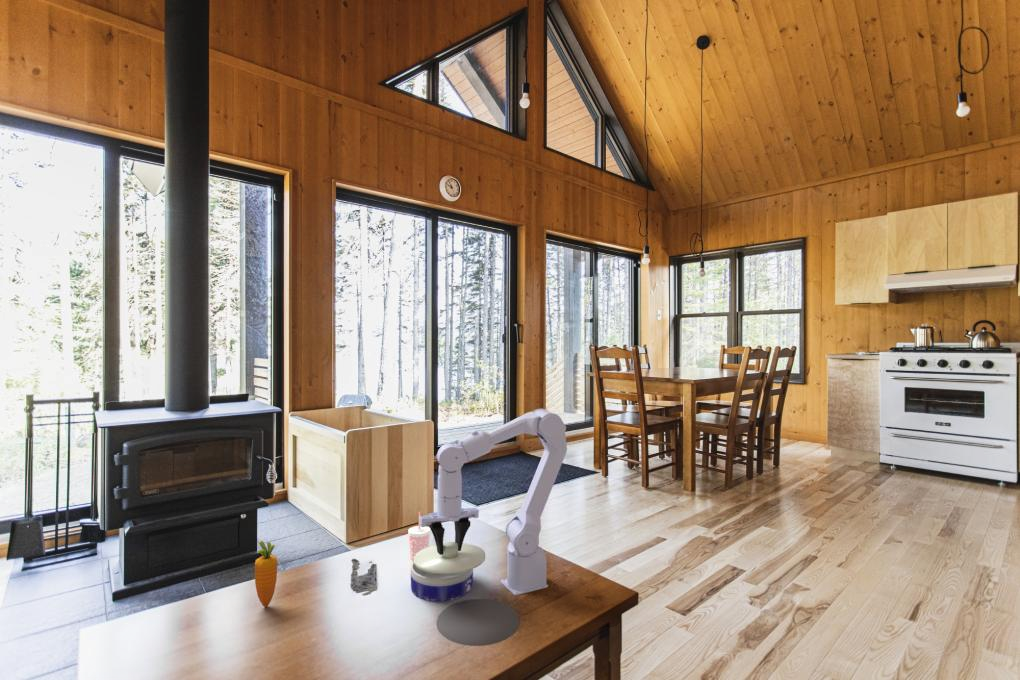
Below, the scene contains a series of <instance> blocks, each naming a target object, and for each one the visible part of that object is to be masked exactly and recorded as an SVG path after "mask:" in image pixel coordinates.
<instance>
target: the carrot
mask: <svg viewBox="0 0 1020 680" xmlns="http://www.w3.org/2000/svg"><path fill="white" fill-rule="evenodd" d="M258 544H259V545H260V547H261V549H258V550H257V552H258V553H259V554H260V555H261V556H259V558H256V559H255V563H254V580H255V581H254V583H255V590H256V593H257V598H258V599H259V602H260V604H262V606H263V607H264V608H267V607H268V606H269V605H270V604H271V601H272V599H273V596H274V594H275V589H276V586H277V579H278V557H277V556H276V555H272V552H273V550H274V549H275V547H276V545H275V544H272V543H271V541H268V542H266V544H265V542H264V540H260V541H259V542H258ZM266 545H267V546H266Z"/></svg>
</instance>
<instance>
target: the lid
mask: <svg viewBox="0 0 1020 680" xmlns="http://www.w3.org/2000/svg"><path fill="white" fill-rule="evenodd" d="M485 560H486V552H485V550H484V548H482V547H480V546H477V545H474V544H471V543H470V544H469V543H464V542H463V544H462V548H461V551H458V543H456V542H455V541H446V542H443V555H440V554H439V553H438V552H437V546H436V544H434V545H431V546H430V545H429V547H427V548H424V549H422V550H420V551H419V552H418V553H416V555H415V556H414V565H415V566H416V567H417V568H418V569H420V570H423V571H426V572H430V573H438V574H450V573H459V572H464V571H468V570H471V569H473V570H474V569H476V568H478V567H479V566H481V565H482V564H483V563H484V562H485Z"/></svg>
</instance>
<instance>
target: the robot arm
mask: <svg viewBox="0 0 1020 680" xmlns="http://www.w3.org/2000/svg"><path fill="white" fill-rule="evenodd" d="M566 430H567V426H566V424H565V422H564V421H563V419H562V418H561V417H560V415H559V414H557V413H553V412H550V411H548V410H547V409H545V408H537V409H534V410H533V411H528V412H526V413H524V414H522V415H521V416H518V417H517V418H514V419H512V420H510V421H508V422H506V423H504V424H502V425H500V426H498V427H496V428H495V429H492V430H491V431H489V432H486V431H484V430H478V431H477V430H476V429H474V430H471V432H470V435H467V436H465V437H462V438H460V439H458V438H456V439H454V440H453V441H452V442H453V443H450V442H449V443H448V442H447V443H445V444H443V445H441V446H440V448H439V449H438V450H437V453H436V455H435V457H436V460H437V463H438V464H439V465H438V470H437V471H438V475H437V511H435V512H431V513H428V514H425V515H420V517H419V516H418V526H419V525H420V526H421V527H426V526H428V527H429V528H430V529H431V531H430V532H431V533H432V535H433V538H434V543H435V545H436V546H437V552H438V553H439V554H440V555H443V543H444V535H445V528H444V527H443V523H449V522H454V524H453V525H454V533H455V534H454V535H455V536H454V542H456V543H458V551H461V548H462V544H463V543H464V540H465V537H466V534H467V532H468V531H469V529H470V527H471V521H470V520H469V519H472V518H473V519H477V518H479V511H480V510H479V509H478V508H477V507H470V508H469V507H468V508H462V502H463V501H462V495H463V493H462V491H463V490H462V489H463V487H462V484H463V483H462V481H463V479H462V478H463V477H462V475H463V474H462V468H463V466H464V464H466V463H469V462H471V461H474V460H476V459H478V458H480V457H483V456H485V455H487V454H488V453H490V452H491V450H492V449H493V447H494V446H495V445H496V444H499V443H502V442H504V441H507V440H509V439H512V438H515V437H517V436H519V435H523V434H526V435H532V436H538V437H539V439H540V442H541V444H542V447H543V449H544V451H543V452H542V456H541V458H540V461H539V463H538V466H537V468H536V471H535V473H534V475H533V478H532V481H531V482H530V485H529V488H528V489H527V493H526V495H525V497H524V500H523V502H522V505H521V507H520V508H519V509H517V510H516V511H515V514H514V516H513V517H512V518H511V519H510V520H508V522H507V524H506V525H505V535H506V537H507V538H508V540H509V543H508V545H507V548H506V550H507V552H506V554H507V555H506V559H507V560H506V561H507V562H506V563H507V564H506V568H507V569H506V575H507V576H506V578H504V579H501V580H500V583H501V584H502V585H504V586H505V588H506V589H507V590H508V591H510V593H511V594H513V596H517V595H522V594H525V593H526V594H527V593H531V592H534V591H539V590H542V589H546V588H548V587H549V585H548V584H547V574H548V573H547V565H548V564H547V557H546V553H545V550H544V549H543V548H542V547H541V546H539V545H540V540H539V539H540V532H541V530H542V524H541V520H542V519H541V517H542V514H543V511H544V509H545V507H546V504H547V502H548V499H549V497H550V495H551V493H552V489H553V487H554V485H555V482H556V480H557V476H558V475H559V472H560V470H561V466H562V464H563V462H564V459H565V457H566V455H567V451H568V447H567V438H566V437H567V436H566Z"/></svg>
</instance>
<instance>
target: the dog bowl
mask: <svg viewBox="0 0 1020 680" xmlns="http://www.w3.org/2000/svg"><path fill="white" fill-rule="evenodd" d="M473 581H474V569H471V570H468V571H464V572H459V573H450V574H438V573H430V572H426V571H423V570H420V569H418V568H417V567H416V566H415V565H414V562H413V563H412V564H411V563H410V589H411V590H410V591H411V594H413V595H414V596H415V597H416V598H417V599H420V600H423V601H426V602H432V603H433V602H434V603H435V602H436V603H439V602H440V603H442V602H443V603H445V602H450V601H455V600H458V599H460V598H462V597H465V596H466V595H467V594H470V592H471V590H472V588H473Z"/></svg>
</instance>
